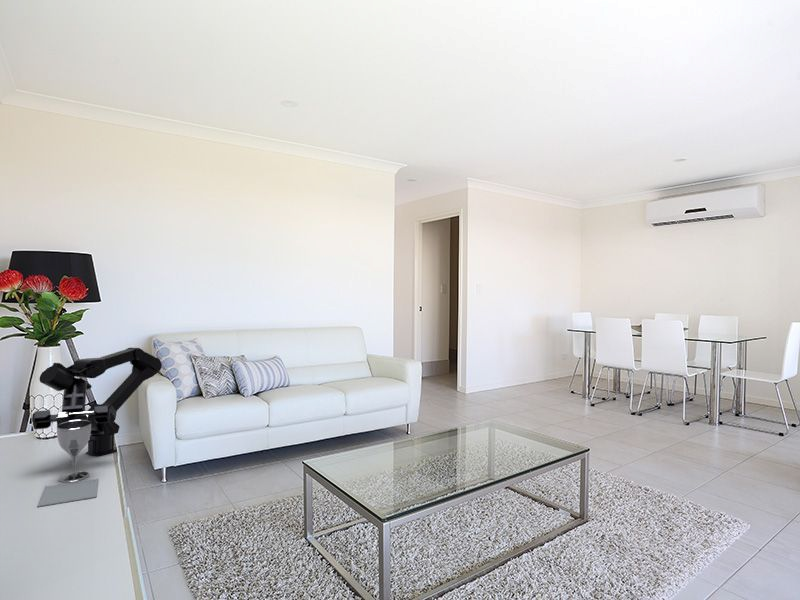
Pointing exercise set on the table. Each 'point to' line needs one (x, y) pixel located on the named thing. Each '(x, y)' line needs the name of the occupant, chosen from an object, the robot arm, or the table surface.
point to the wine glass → (73, 445)
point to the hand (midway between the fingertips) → (70, 443)
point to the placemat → (68, 492)
